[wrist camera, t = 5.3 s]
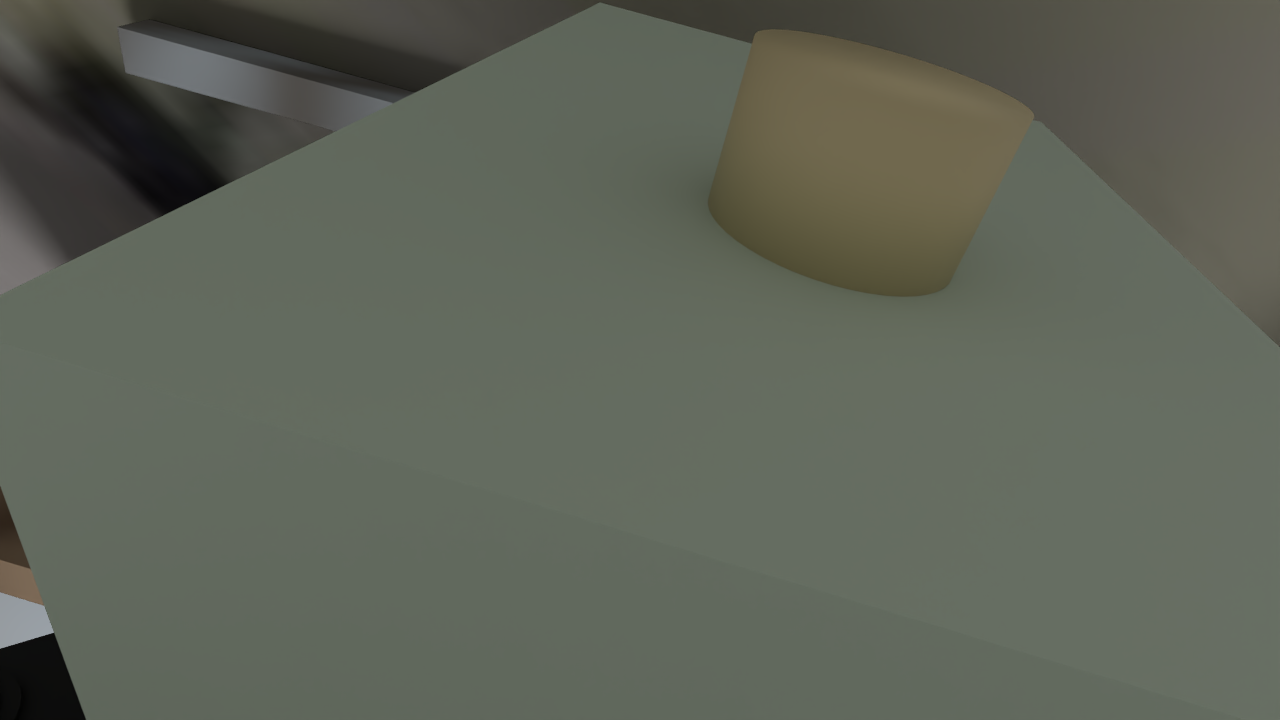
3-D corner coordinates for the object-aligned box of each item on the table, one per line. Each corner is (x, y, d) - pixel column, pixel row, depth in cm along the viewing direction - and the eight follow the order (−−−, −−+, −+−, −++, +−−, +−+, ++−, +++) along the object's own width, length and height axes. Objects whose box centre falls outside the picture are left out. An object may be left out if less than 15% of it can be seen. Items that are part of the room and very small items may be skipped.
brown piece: (618, 148, 25) (500, 325, 15) (550, 485, 35) (451, 728, 25) (69, -3, 26) (-381, 75, 16) (149, 368, 35) (-103, 561, 25)
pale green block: (1082, 41, 9) (2420, 722, 2) (761, 662, 16) (723, 1318, 9) (614, -83, 9) (-186, -17, 2) (501, 581, 16) (244, 1152, 9)
